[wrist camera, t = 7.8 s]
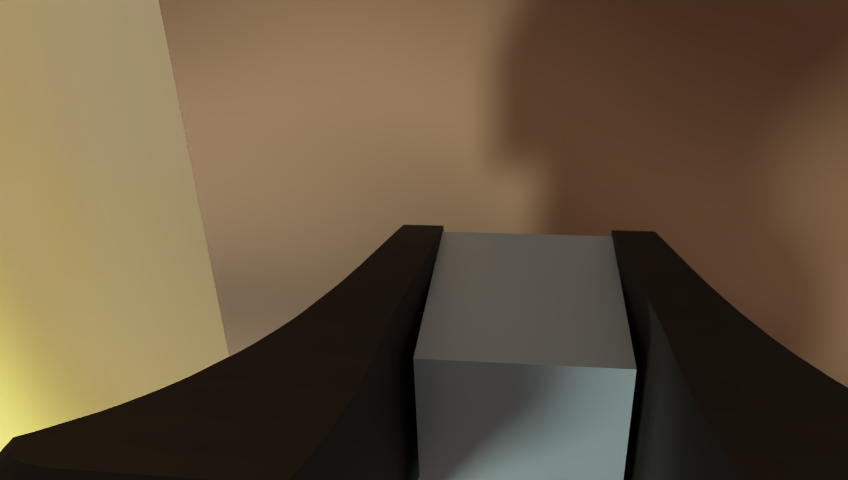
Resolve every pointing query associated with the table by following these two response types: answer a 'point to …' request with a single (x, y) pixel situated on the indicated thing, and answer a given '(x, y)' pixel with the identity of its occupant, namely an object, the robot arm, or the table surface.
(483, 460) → the grey block
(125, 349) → the table surface
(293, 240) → the cradle
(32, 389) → the table surface
